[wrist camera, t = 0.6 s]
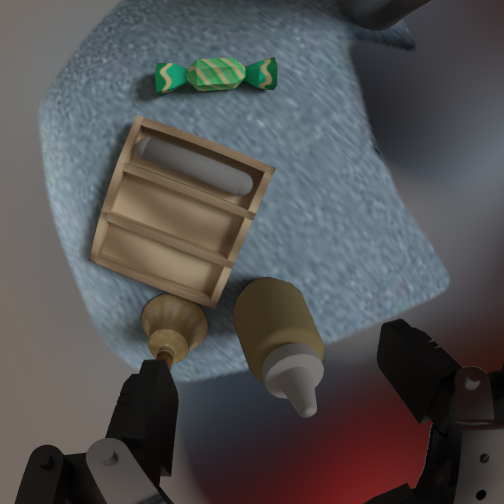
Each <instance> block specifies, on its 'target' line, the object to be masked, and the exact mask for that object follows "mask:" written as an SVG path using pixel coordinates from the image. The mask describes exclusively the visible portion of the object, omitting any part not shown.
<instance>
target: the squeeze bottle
mask: <svg viewBox="0 0 504 504" xmlns="http://www.w3.org/2000/svg"><path fill="white" fill-rule="evenodd" d="M232 312H233V322H234V326H235V329H236V332H237V335H238V338H239V341H240V344H241V347H242V350H243V352H244V355H245V358H246V361H247V364H248V367H249V369H250V371H251V372H252V374H253V375H254V376H255V378H256V379H258V380H259V381H261V382H263V383H264V384H265V387H266V388H267V390H268V391H269V393H271V394H272V395H275V396H277V397H279V398H288V399H289V401H290V402H291V403H292V405H293V406H294V408H295V409H296V410H297V412H298V413H299V414H300V416H302V417H310V416H312V415H314V414H315V413H316V411H317V406H316V399H315V390H314V388H315V387H316V386H317V385H318V384H319V382H320V381H321V379H322V377H323V372H324V367H323V365H322V363H321V361H322V359H323V353H324V344H323V342H322V340H321V337H320V335H319V332H318V330H317V328H316V325H315V323H314V321H313V318H312V316H311V314H310V311H309V309H308V307H307V304H306V302H305V300H304V298H303V295H302V293H301V291H300V290H298V289H297V288H296V287H295V286H294V285H292V284H291V283H289V282H286V281H282V280H279V279H275V278H270V277H266V278H258V279H256V280H254V281H252V282H250V283H249V284H248V285H247V286H246V288H245V289H244V290H243V291H242V292H241V294H240V295H239V296H238V298H237V300H236V303H235V306H234V309H233V311H232Z"/></svg>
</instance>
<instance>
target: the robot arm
mask: <svg viewBox="0 0 504 504" xmlns="http://www.w3.org/2000/svg"><path fill="white" fill-rule="evenodd" d="M430 1H432V0H337V3H338V5H339V6H340V8H341V9H342V10H343V12H344V13H345V14H346V15H347V16H348V17H350V18H351V19H352V20H353V21H355V22H356V23H358V24H360V25H361V26H363V27H366V28H368V29H371V30H376V31H383V30H387V29H388V28H390V27H391V26H393V25H394V24H396V23H397V22H399V21H400V20H402V19H403V18H405V17H406V16H408V15H410V14H411V13H413V12H414V11H416V10H417V9H419V8H421V7H422V6H424V5H425V4H427V3H429V2H430ZM377 363H378V366H379V368H380V370H381V371H382V373H383V374H384V375H385V377H386V378H387V380H388V381H389V382H390V384H391V385H392V386H393V388H394V389H395V391H396V392H397V393H398V395H399V396H400V397H401V399H402V400H403V401H404V403H405V404H406V406H407V407H408V409H409V410H410V412H411V413H412V414H413V416H414V417H415V419H416V420H417V421H418V423H419V424H422V423H424V422H426V421H428V420H430V419H431V421H432V422H433V424H432V426H431V429H430V437H429V443H428V449H427V454H426V460H425V465H424V469H423V472H422V474H421V476H420V478H419V480H418V482H417V484H416V487H415V488H413V489H410V487H409V485H408V484H407V483H405V484H403V485H401V486H399V487H397V488H395V489H393V490H390V491H388V492H386V493H383V494H381V495H378V496H376V497H373V498H372V499H370V500H369V501H367V502H366V503H364V504H504V362H503V364H502V367H501V369H500V370H498V371H494V372H491V373H486V372H485V371H483V370H482V369H480V368H477V367H473V366H467V367H463V368H462V367H461V366H460V365H459V364H458V363H457V362H456V361H455V360H454V359H453V358H452V357H451V356H450V355H449V354H448V353H447V352H446V351H444V350H443V349H442V348H441V347H439V345H438V344H437V343H436V342H435V341H434V342H433V339H432V338H430V337H429V336H428V335H427V334H426V333H425V332H423V331H421V330H418V329H417V328H414V327H413V328H412V327H411V326H410V325H409V324H408V323H407V322H405V321H404V320H403V319H397V320H393V321H390V322H386V323H384V324H383V325H382V327H381V333H380V339H379V345H378V351H377ZM178 404H179V401H178V393H177V389H176V386H175V384H174V381H173V378H172V375H171V373H170V370H169V367H168V364H167V362H166V360H165V359H152V360H144V361H143V363H142V366H141V369H140V372H139V374H132V375H131V376H130V377H129V378H128V379H127V380H126V381H125V383H124V384H123V387H122V390H121V393H120V396H119V398H118V401H117V405H116V407H115V409H114V412H113V415H112V418H111V422H110V425H109V427H108V431H107V434H106V437H105V439H101V440H98V441H96V442H95V443H93V444H92V445H91V446H90V448H89V449H88V451H87V453H79V454H70V455H64V454H62V452H61V451H60V450H59V449H58V448H57V447H55V446H52V445H43V446H40V447H38V448H36V449H35V450H34V451H33V452H32V454H31V456H30V458H29V461H28V463H27V466H26V469H25V472H24V475H23V478H22V481H21V484H20V487H19V490H18V494H17V497H16V501H15V504H174V503H173V502H172V501H171V499H170V498H169V497H168V496H167V495H166V493H165V492H164V491H163V490H162V488H161V487H160V486H159V485H160V476H171V472H172V460H173V450H174V449H173V448H174V440H175V430H176V421H177V413H178Z"/></svg>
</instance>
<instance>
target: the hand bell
mask: <svg viewBox="0 0 504 504" xmlns="http://www.w3.org/2000/svg"><path fill="white" fill-rule="evenodd" d="M142 326H143V329H144V331H145V334H146V335H147V337H148V338H149V340H148V346H149V349H150V351H151V353H152V354H153V356H154V357H156V359H165V360H166V362H167V364H168V367H169V370H170V369H171V366H172V363H177V362H179V361H181V360H183V359H184V358H185V357H186V355H187V354H188V351H189V350H192V349H194V348H195V347H197V346H198V345H199V344H200V343H201V342H202V341H203V340H204V338H205V336H206V334H207V330H208V322H207V318H206V315H205V313H204V311H203V310H202V308H201V307H200V306H199V305H198V304H197V303H196V302H193V301H191V300H188V299H185V298H182V297H180V296H177V295H174V294H171V293H167V294H162V295H159V296H156V297H154V298H153V299H151V300H150V301H149V302H148V303H147V305H146V306H145V308H144V310H143V313H142Z"/></svg>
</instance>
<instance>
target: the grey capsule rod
mask: <svg viewBox="0 0 504 504" xmlns="http://www.w3.org/2000/svg"><path fill="white" fill-rule="evenodd" d="M136 152H137V155H138V156H139V157H140V158H141V159H143V160H146V161H148V162H151V163H154V164H157V165H159V166H162V167H165V168H167V169H170V170H173V171H176V172H178V173H181V174H183V175H186V176H189V177H191V178H194V179H196V180H199V181H202V182H204V183H207V184H209V185H212V186H214V187H217V188H219V189H222V190H224V191H227V192H229V193H232V194H234V195H237V196H244V195H247V194H248V193H249V192H250V191H251V189H252V187H253V181H252V179H251V177H250V176H249V175H248V174H247V173H244V172H242V171H240V170H237V169H235V168H232V167H230V166H228V165H225V164H223V163H220V162H218V161H215V160H213V159H210V158H207V157H205V156H202V155H200V154H197V153H194V152H192V151H189V150H186V149H184V148H181V147H178V146H176V145H173V144H170V143H167V142H164V141H162V140H159V139H156V138H153V137H145V138H143V139H141V140H140V141H139V142H138V144H137V147H136Z"/></svg>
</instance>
